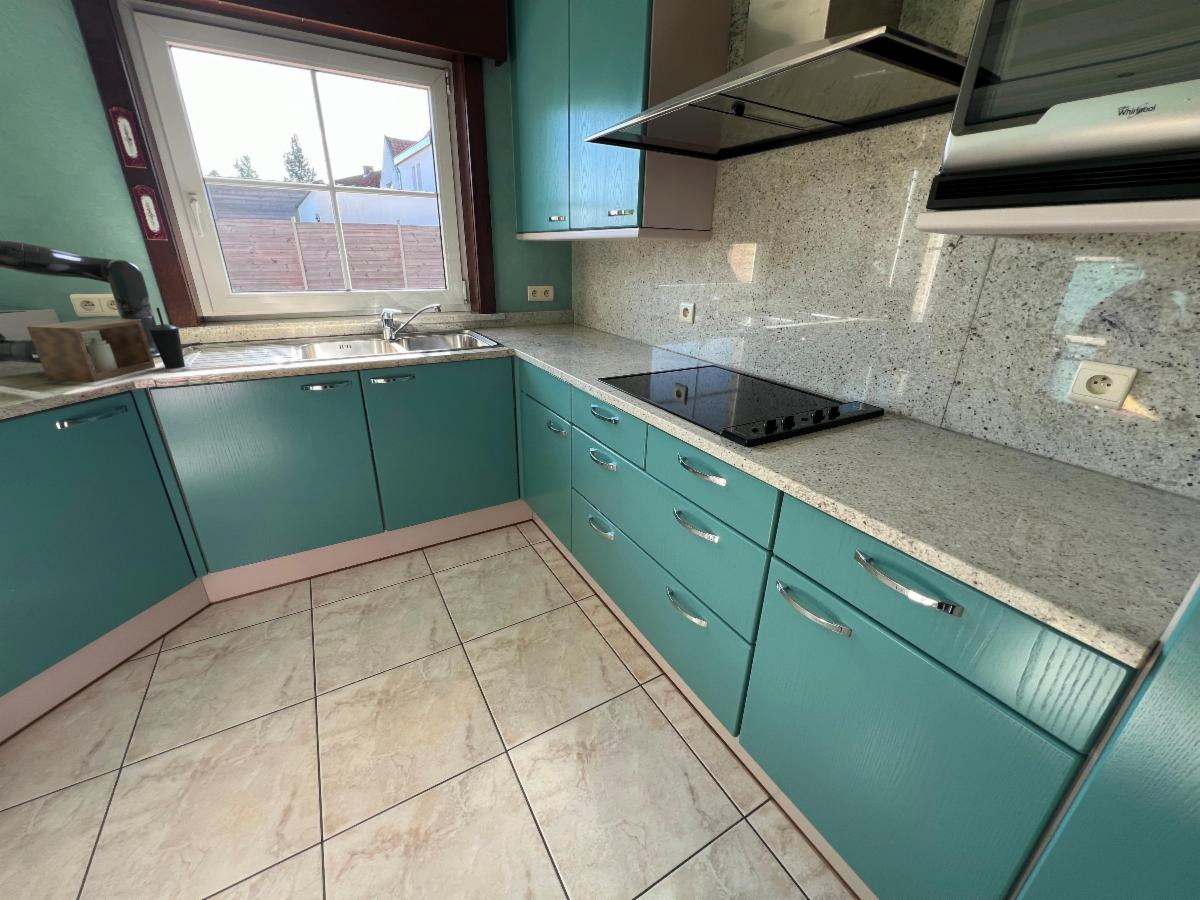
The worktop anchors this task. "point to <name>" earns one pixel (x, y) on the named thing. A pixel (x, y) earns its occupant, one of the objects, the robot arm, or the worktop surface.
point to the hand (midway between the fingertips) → (89, 352)
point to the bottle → (101, 354)
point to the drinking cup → (168, 344)
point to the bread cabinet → (69, 355)
